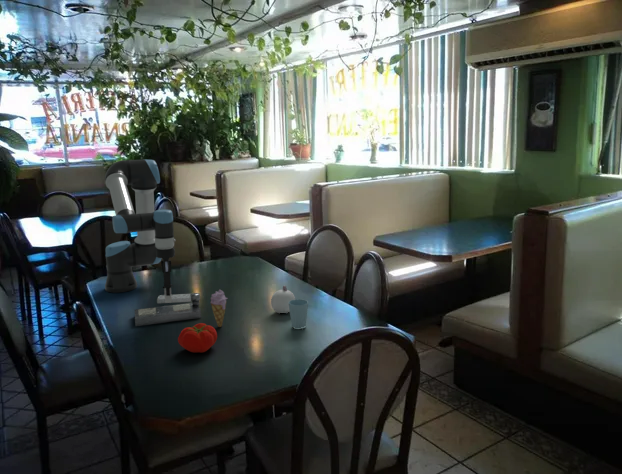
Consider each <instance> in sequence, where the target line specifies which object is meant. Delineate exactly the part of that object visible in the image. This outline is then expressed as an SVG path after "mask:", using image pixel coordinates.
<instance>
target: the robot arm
mask: <svg viewBox="0 0 622 474" xmlns="http://www.w3.org/2000/svg"><path fill="white" fill-rule="evenodd" d="M104 175H105V176H104V183H105V186H106V188H107V189H108V190H109V193H110V197H111V202H112V205H113V209H114V213H115V215H113V216H112V219H111V220H112V222H111V223H112V228H113V232H114V233H115V234H128V233H129V234H130V233H136V235H137V236H136V237H135V238H134V243H131V241H130V240H129V241H128V240H121V241H117V242H112V243H111V244H108V245H107V246H106V247H105V259H106V260H105V261H106V271H107V275H106V281H105V283H104V289H105V292H107V293H113V294H115V293H118V294H119V293H126V292H130V291H134V290H135V289H137V287H138V281H137V279H136V278H135V274H134V273H133V267H134V268H135V267H143V266H152V265H155V264H156V265H157V264H160V265H161V271H162V273H163V284H164V285H163V286H162V289H163V290H164V291H163V292H164V295H165V303H164V304H168V303H169V304H171V302H172V296H171V295H172V286H173V284H172V283H171V272H172V267H171V266H172V260H171V258H174V257H175V256H176V249H175V242H176V238H175V236H174V235H175V231H174V216H173V211H172V210H171V209H157V210H155V195H154V192H155V190H156V189H157V185H158V184H160V183H161V177H160V171H159V168H158V164H157V162H156V160H154V159H145V158H144V159H129V160H127V159H122V160H118V161H116V162H114V163H112V164H111V165H110V166H109V167H108V169H107V170H106V173H105V174H104ZM128 186H131V187H130V188H131V189H132V190H133V191H134V196H135V197H134V198H135V210H134V206H133V202H132V199H131V195H130V192H129V189H128Z"/></svg>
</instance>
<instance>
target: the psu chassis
mask: <svg viewBox="0 0 622 474" xmlns="http://www.w3.org/2000/svg"><path fill="white" fill-rule="evenodd" d="M201 318H202V312H201V308H200V300H199V301H191V302H186V303H179V304H178V303H177V304H173V305H172V304H171V305H164V306H153V307H145V308H138V309H134V324H135V327H140V326H149V325H155V324H163V323H171V322H179V321H187V320H193V319H201Z"/></svg>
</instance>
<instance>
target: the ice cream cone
mask: <svg viewBox="0 0 622 474" xmlns="http://www.w3.org/2000/svg"><path fill="white" fill-rule="evenodd" d="M228 299H229V298H228V297H226V295H225V292H224V291H223V290H221V289H218V291H217V290H216V291H215V293H212V294H211V297H210V300H211V301H210V305H211V309H212V313H213V316H214V318H215V319H214V320H215V322H216V325H217V327H218V328H222V326H223V321H224V318H225V314H226V308H227V300H228Z"/></svg>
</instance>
